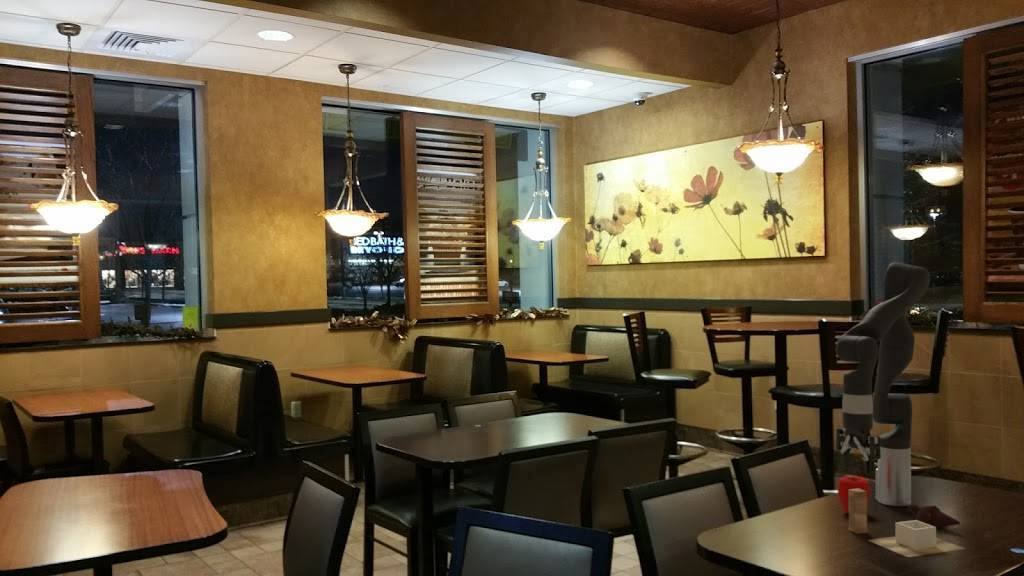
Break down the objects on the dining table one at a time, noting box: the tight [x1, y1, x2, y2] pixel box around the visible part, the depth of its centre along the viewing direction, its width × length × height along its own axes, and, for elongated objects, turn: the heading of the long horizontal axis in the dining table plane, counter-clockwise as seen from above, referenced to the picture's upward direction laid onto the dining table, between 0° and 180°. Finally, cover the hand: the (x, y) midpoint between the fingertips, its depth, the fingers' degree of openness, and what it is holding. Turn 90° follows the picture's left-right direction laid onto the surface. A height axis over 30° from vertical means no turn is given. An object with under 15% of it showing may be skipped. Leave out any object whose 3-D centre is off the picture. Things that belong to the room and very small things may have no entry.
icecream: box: [906, 503, 961, 529], centre depth 229 cm, size 7×7×15 cm
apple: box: [837, 475, 871, 515], centre depth 246 cm, size 9×9×11 cm
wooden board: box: [867, 536, 966, 558], centre depth 215 cm, size 14×18×1 cm
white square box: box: [894, 520, 937, 550], centre depth 215 cm, size 7×7×5 cm
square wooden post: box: [848, 488, 868, 535], centre depth 226 cm, size 3×3×12 cm
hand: (858, 470), depth 226 cm, fingers open, 8 cm apart
